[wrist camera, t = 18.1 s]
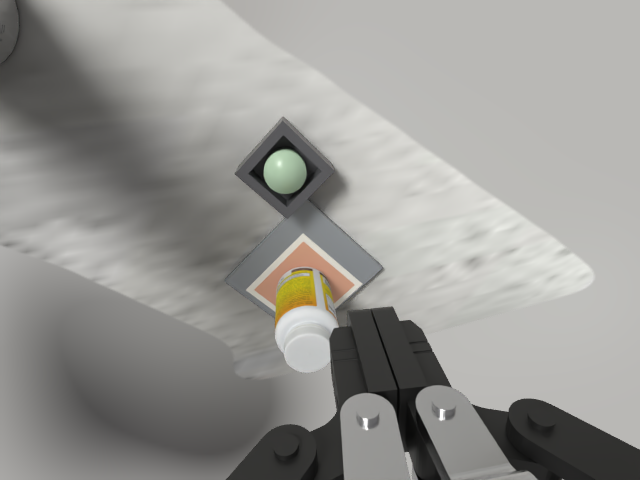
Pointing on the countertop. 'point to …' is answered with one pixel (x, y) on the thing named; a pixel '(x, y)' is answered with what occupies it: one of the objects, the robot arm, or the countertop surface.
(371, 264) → the picture board
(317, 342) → the supplement bottle
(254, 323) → the countertop surface
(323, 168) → the button housing
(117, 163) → the countertop surface
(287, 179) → the button
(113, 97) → the countertop surface
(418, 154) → the countertop surface
